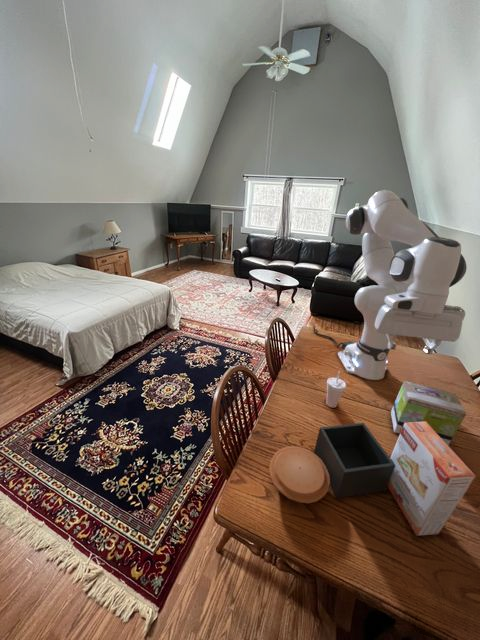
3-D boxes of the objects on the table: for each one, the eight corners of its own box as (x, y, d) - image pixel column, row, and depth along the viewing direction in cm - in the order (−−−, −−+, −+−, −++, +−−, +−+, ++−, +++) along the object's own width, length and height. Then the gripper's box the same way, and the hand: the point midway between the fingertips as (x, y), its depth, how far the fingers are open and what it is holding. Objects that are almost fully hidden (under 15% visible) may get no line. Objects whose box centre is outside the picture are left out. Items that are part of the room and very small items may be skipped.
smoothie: (340, 400, 100) (348, 369, 94) (340, 412, 94) (349, 380, 88) (322, 396, 102) (329, 365, 96) (321, 407, 96) (329, 375, 90)
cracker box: (380, 477, 73) (403, 420, 64) (400, 476, 73) (426, 420, 64) (414, 537, 60) (449, 476, 51) (439, 535, 61) (478, 475, 52)
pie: (325, 461, 76) (328, 449, 74) (329, 519, 63) (333, 506, 61) (271, 449, 79) (273, 437, 77) (264, 502, 66) (266, 489, 63)
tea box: (393, 433, 87) (407, 398, 80) (390, 412, 95) (402, 379, 89) (448, 449, 82) (467, 413, 76) (439, 426, 90) (456, 391, 84)
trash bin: (314, 451, 79) (319, 427, 75) (355, 446, 82) (363, 422, 77) (336, 498, 67) (344, 472, 63) (384, 490, 70) (395, 465, 65)
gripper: (459, 304, 71) (443, 351, 76) (379, 295, 74) (367, 341, 78) (475, 310, 65) (456, 361, 70) (387, 301, 68) (374, 350, 72)
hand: (408, 350), depth 74 cm, fingers open, 8 cm apart
